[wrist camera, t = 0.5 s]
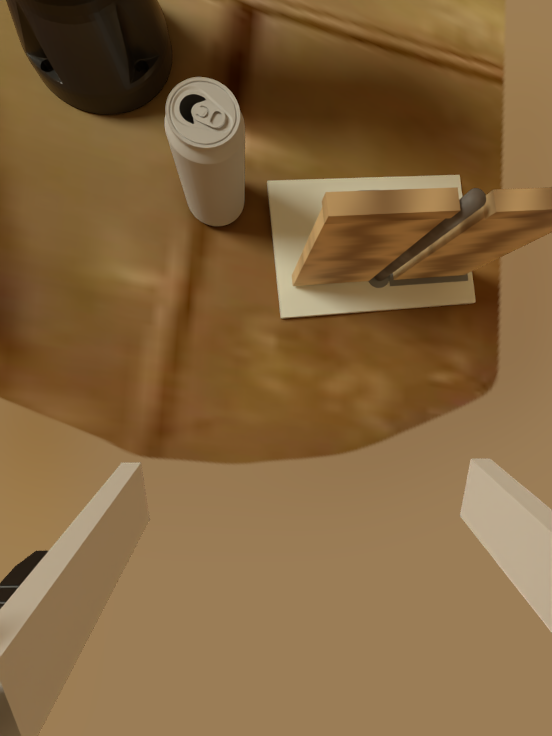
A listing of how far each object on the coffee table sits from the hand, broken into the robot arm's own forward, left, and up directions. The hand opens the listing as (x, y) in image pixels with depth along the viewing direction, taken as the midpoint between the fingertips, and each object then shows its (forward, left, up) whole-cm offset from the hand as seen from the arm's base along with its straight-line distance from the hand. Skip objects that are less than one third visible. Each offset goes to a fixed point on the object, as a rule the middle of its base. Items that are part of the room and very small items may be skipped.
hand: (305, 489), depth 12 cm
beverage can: (-25, -3, -23) cm, 34 cm away
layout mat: (-19, +15, -22) cm, 33 cm away
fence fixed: (-15, +21, -22) cm, 34 cm away
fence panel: (-15, +10, -21) cm, 28 cm away
